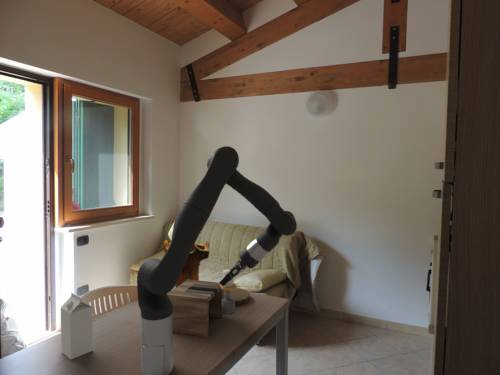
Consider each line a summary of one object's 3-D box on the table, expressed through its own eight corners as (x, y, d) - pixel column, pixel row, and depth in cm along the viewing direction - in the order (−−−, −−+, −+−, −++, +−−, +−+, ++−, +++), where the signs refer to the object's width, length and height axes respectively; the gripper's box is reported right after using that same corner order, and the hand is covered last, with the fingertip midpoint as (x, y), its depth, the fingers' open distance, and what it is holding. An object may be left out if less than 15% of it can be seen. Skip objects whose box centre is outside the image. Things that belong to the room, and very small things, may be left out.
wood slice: (243, 309, 148) (243, 302, 148) (209, 304, 153) (209, 297, 153) (254, 296, 163) (254, 290, 163) (223, 292, 168) (223, 286, 168)
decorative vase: (204, 306, 149) (201, 242, 148) (156, 304, 154) (153, 242, 153) (218, 289, 170) (216, 234, 168) (175, 288, 174) (172, 234, 173)
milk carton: (83, 344, 117) (82, 289, 116) (93, 351, 112) (92, 294, 111) (61, 352, 111) (60, 295, 110) (70, 360, 107) (69, 301, 106)
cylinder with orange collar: (238, 314, 128) (238, 272, 127) (223, 316, 126) (222, 274, 125) (233, 308, 133) (233, 268, 132) (218, 310, 131) (218, 269, 130)
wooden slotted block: (207, 337, 122) (207, 298, 122) (166, 331, 126) (166, 294, 126) (223, 316, 140) (223, 282, 139) (187, 312, 144) (187, 279, 143)
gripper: (252, 241, 133) (222, 269, 137) (242, 249, 119) (209, 280, 123) (265, 255, 132) (235, 283, 136) (256, 265, 118) (223, 296, 122)
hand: (223, 282), depth 129 cm, fingers closed on cylinder with orange collar, 4 cm apart
